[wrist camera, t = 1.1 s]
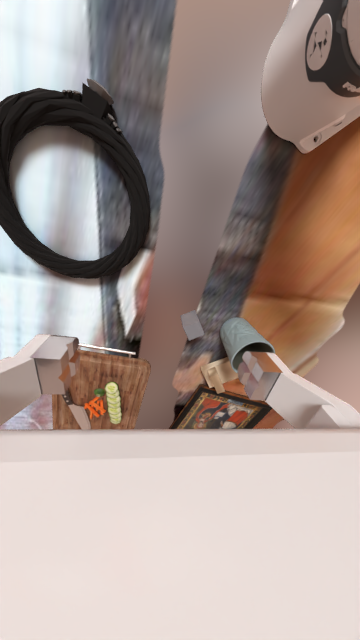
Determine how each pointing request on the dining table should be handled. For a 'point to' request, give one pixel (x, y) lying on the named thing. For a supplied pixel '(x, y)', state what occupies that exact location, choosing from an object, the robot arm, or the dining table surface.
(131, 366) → the chopping board
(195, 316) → the grey rectangular block
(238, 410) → the religious icon
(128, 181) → the cable lock
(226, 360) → the notch board
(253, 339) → the grey hollow cylinder
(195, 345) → the dining table surface
